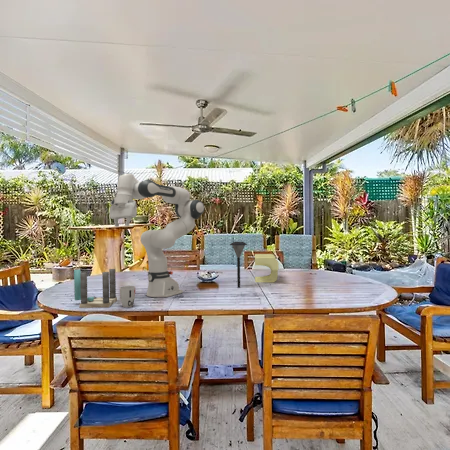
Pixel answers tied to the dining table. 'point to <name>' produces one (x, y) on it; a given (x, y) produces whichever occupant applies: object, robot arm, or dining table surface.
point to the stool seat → (105, 300)
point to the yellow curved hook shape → (267, 261)
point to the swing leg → (78, 286)
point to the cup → (127, 296)
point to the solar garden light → (238, 257)
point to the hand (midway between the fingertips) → (121, 226)
